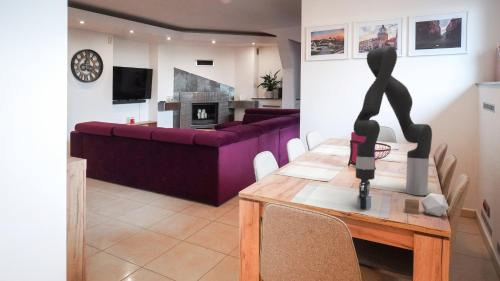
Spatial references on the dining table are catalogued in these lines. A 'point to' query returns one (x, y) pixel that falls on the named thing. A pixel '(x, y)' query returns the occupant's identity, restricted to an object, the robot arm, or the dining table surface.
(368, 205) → the blue cube
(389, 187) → the dining table surface
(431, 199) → the die
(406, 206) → the walnut cube
